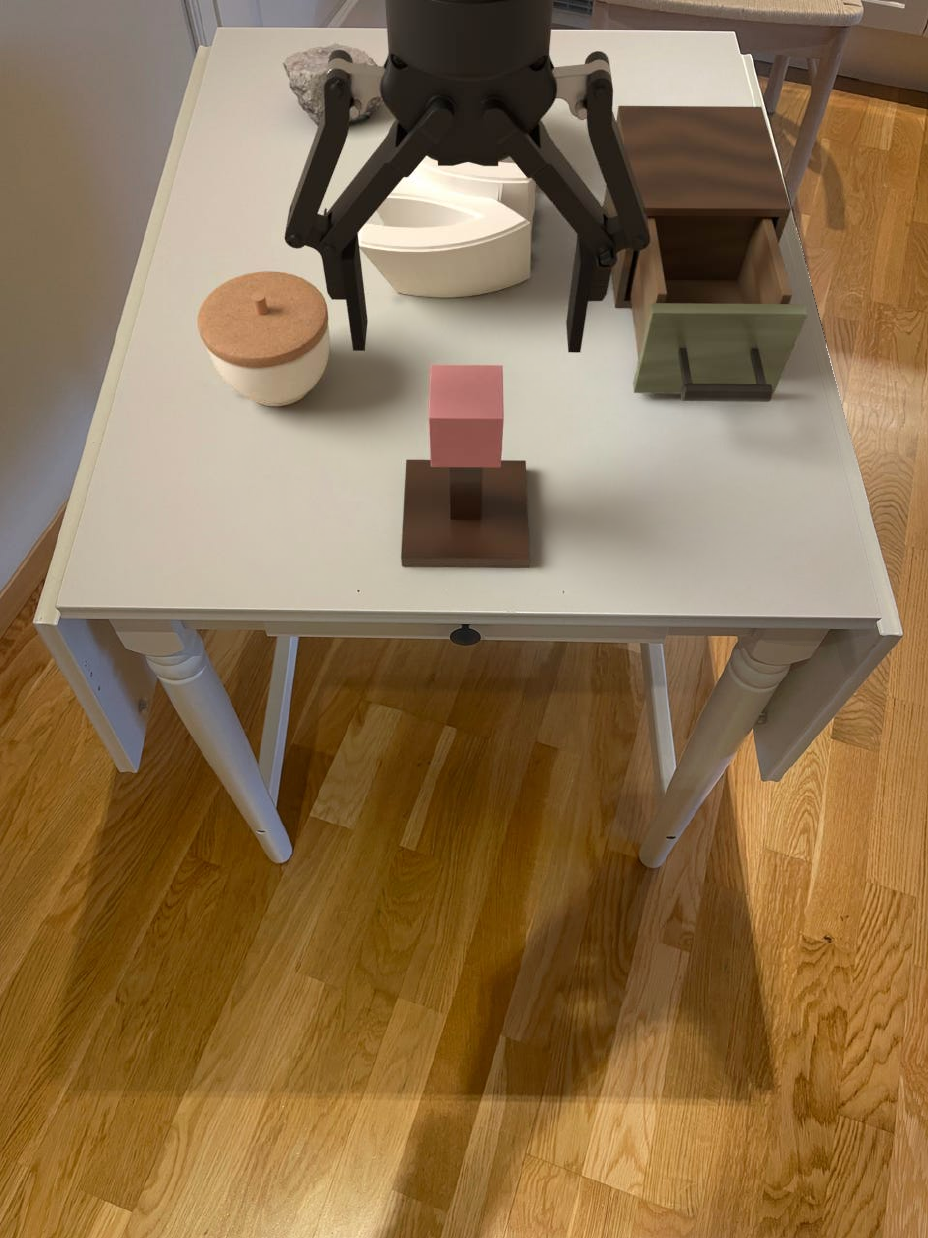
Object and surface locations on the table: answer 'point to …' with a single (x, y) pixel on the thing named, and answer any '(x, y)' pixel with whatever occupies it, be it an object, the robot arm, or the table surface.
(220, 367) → the trinket box
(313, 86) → the rock
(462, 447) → the block
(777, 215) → the cabinet
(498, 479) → the stand
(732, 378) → the drawer
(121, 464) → the table surface
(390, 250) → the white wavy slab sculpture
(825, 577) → the table surface
